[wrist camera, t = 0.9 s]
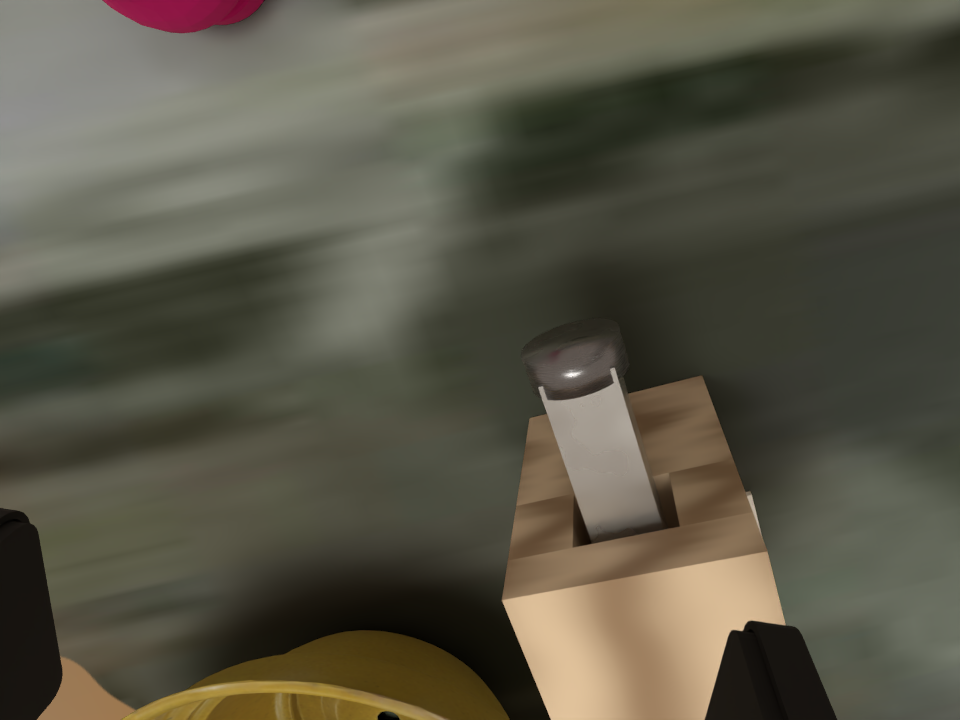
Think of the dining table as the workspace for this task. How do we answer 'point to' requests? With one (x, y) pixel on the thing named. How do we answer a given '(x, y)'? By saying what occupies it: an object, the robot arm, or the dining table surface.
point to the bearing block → (638, 572)
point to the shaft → (596, 426)
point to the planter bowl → (338, 685)
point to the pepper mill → (184, 13)
